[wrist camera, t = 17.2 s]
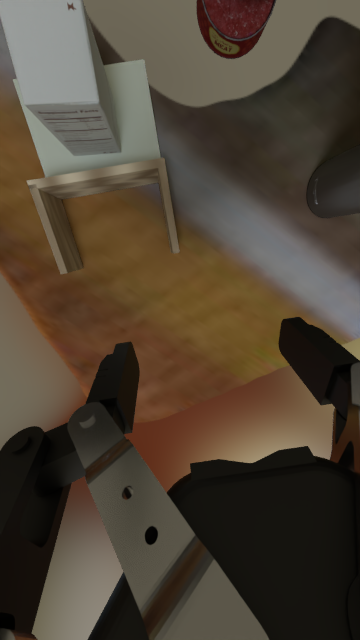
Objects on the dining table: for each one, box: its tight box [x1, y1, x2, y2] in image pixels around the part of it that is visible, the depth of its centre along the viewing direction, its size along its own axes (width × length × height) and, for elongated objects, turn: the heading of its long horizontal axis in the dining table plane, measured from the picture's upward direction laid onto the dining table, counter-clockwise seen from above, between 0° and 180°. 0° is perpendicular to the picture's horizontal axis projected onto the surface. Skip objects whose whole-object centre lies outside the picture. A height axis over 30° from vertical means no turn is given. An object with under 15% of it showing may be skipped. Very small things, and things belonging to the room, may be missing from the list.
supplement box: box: [0, 0, 121, 156], centre depth 25 cm, size 7×7×13 cm
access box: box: [27, 158, 180, 274], centre depth 32 cm, size 18×12×7 cm, turn 100°
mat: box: [13, 59, 161, 177], centre depth 31 cm, size 18×12×1 cm, turn 100°
